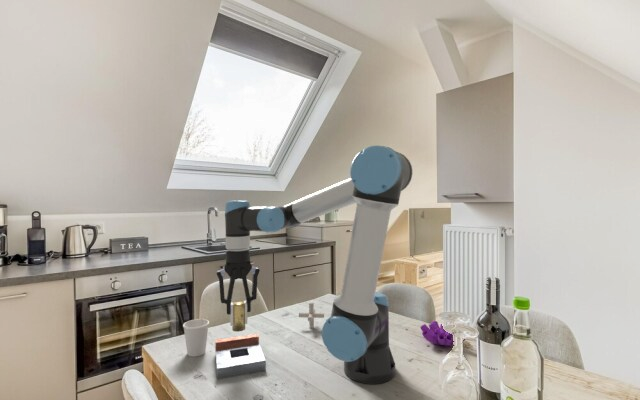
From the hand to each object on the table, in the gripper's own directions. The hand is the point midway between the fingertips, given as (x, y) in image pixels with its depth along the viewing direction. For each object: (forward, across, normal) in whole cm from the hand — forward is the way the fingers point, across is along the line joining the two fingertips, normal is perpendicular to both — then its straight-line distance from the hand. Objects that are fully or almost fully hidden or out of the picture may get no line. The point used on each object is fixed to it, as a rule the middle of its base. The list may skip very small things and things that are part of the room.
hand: (238, 323), depth 105 cm
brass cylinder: (+2, 0, 0) cm, 2 cm away
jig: (+12, 0, 0) cm, 12 cm away
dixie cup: (+13, +13, -12) cm, 22 cm away
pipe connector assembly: (+12, -68, +11) cm, 70 cm away
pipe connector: (+13, -30, -19) cm, 38 cm away
